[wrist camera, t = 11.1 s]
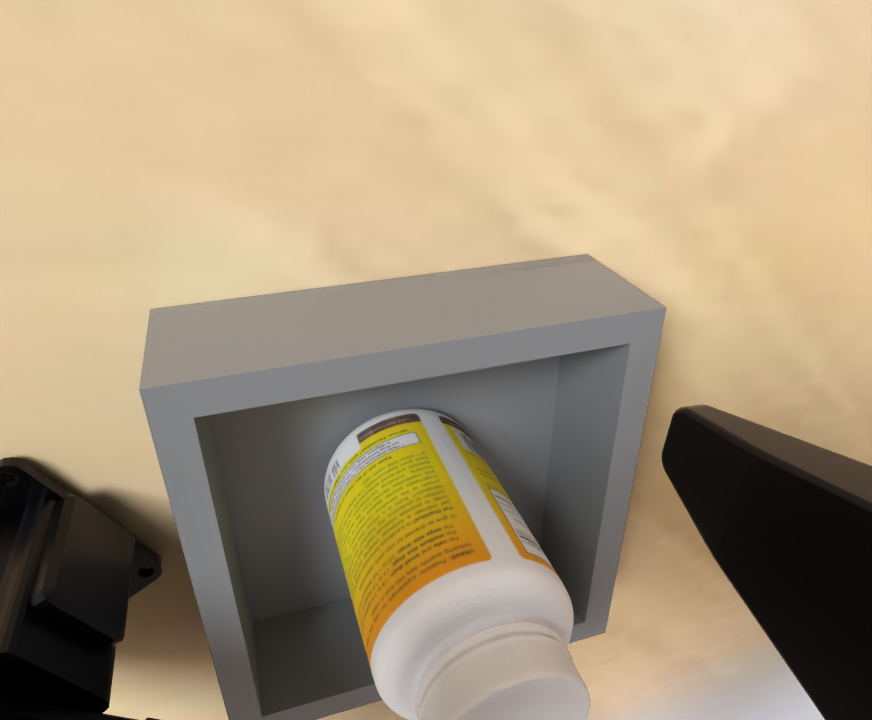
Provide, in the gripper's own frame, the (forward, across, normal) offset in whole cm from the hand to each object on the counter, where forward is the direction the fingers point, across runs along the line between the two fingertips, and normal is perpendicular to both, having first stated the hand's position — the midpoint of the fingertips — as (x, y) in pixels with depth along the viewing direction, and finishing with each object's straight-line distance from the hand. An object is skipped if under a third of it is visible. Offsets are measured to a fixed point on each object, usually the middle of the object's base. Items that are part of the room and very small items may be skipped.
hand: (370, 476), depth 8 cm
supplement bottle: (+12, -4, +9) cm, 15 cm away
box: (+12, -4, +9) cm, 16 cm away
